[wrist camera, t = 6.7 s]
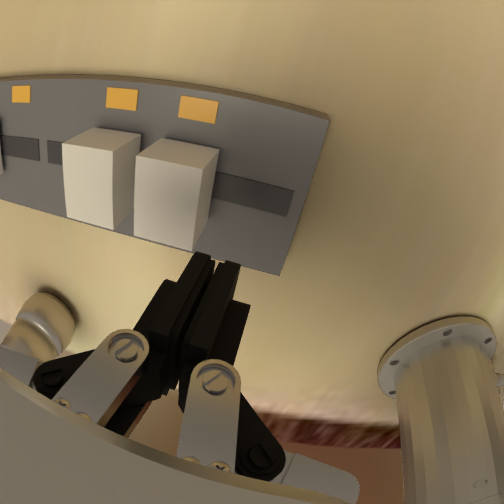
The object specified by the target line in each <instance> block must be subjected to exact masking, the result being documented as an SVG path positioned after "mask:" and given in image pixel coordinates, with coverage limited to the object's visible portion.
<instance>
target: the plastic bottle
mask: <svg viewBox="0 0 504 504" xmlns="http://www.w3.org/2000/svg"><path fill="white" fill-rule="evenodd" d="M74 331H75V323H74V318H73V316H72V314H71V312H70V311H69V309H68V308H67V307H66V306H65V305H64V304H63V303H62V302H61V301H60V300H59V299H58V298H56V297H55V296H53V295H51V294H49V293H37V294H34V295H33V296H32V297H30V298H29V299H28V300H27V301H26V302H25V303H24V305H23V306H22V308H21V310H20V311H19V313H18V315H17V317H16V321H15V322H14V324H13V325H12V327H11V328H10V330H9V332H8V333H7V335H6V337H5V338H4V340H3V342H2V343H1V345H0V346H1V347H4V348H7V349H10V350H13V351H16V352H19V353H22V354H25V355H28V356H32V357H35V358H38V359H39V360H40V362H47V361H49V360H54V359H55V358H56V357H57V356H59V355H60V354H61V353H62V352H63V351H64V350H65V348H66V347H67V346H68V345H69V344H70V342H71V339H72V337H73V334H74Z"/></svg>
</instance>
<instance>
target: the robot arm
mask: <svg viewBox="0 0 504 504" xmlns="http://www.w3.org/2000/svg"><path fill="white" fill-rule="evenodd" d="M214 267H215V261H214V260H211V255H208V254H205V253H202V252H198V251H196V252H195V253H194V255H193V256H192V258H191V260H190V261H189V263H188V264H187V266H186V268H185V269H184V271H183V273H182V274H181V276H180V278H179V279H178V281H177V282H174V281H171V280H168V279H166V280H164V281H163V283H162V284H161V286H160V287H159V289H158V290H157V292H156V294H155V295H154V297H153V298H152V300H151V301H150V303H149V305H148V306H147V308H146V309H145V311H144V313H143V314H142V316H141V317H140V319H139V321H138V322H137V324H136V326H135V327H134V329H133V330H130V329H121V330H117V331H114V332H112V333H111V334H109V335H108V336H107V337H106V338H105V339H104V340H103V341H102V343H101V344H100V345H99V346H98V347H97V348H96V349H94V350H90V351H86V352H82V353H78V354H74V355H70V356H66V357H62V358H58V359H54V360H49V361H47V362H40V360H39V359H38V358H35V357H32V356H28V355H25V354H22V353H19V352H16V351H13V350H10V349H7V348H4V347H1V346H0V504H356V501H357V498H358V495H359V488H360V487H359V483H358V480H357V479H356V478H355V477H354V475H352V474H350V473H348V472H346V471H343V470H340V469H337V468H334V467H332V466H329V465H326V464H323V463H321V462H318V461H315V460H313V459H310V458H308V457H305V456H303V455H300V454H298V453H295V454H292V453H289V452H287V451H284V450H283V448H282V447H281V445H280V444H279V443H278V441H277V440H276V439H275V437H274V436H273V435H272V434H271V432H270V431H269V430H268V428H267V427H266V426H265V424H264V423H263V422H262V420H261V419H260V418H259V416H258V415H257V414H256V412H255V411H254V410H253V408H252V407H251V406H250V404H249V403H248V401H247V400H246V399H245V397H244V396H243V395H242V393H241V392H240V391H241V378H240V375H239V373H238V371H237V370H236V369H235V368H234V367H233V365H234V361H235V358H236V355H237V351H238V348H239V344H240V341H241V337H242V334H243V331H244V327H245V324H246V320H247V317H248V313H249V310H250V306H251V305H248V304H245V303H242V302H238V301H235V300H233V296H234V292H235V287H236V283H237V279H238V275H239V271H240V267H241V264H239V263H235V262H232V261H229V260H226V261H225V263H221V262H219V264H218V266H217V268H216V270H215V272H214ZM213 272H214V274H213ZM496 344H497V343H496V337H495V335H494V332H493V330H492V328H491V327H490V326H489V324H488V323H487V322H485V321H483V320H481V319H479V318H475V317H464V316H460V317H452V318H446V319H443V320H439V321H435V322H433V323H430V324H428V325H425V326H423V327H421V328H419V329H417V330H415V331H413V332H411V333H410V334H408V335H407V336H405V337H404V338H402V339H401V340H399V341H398V342H397V343H396V344H395V345H394V346H392V347H391V348H390V349H389V351H388V352H387V353H386V354H385V355H384V357H383V358H382V360H381V362H380V364H379V367H378V370H377V371H378V383H379V387H380V388H381V390H382V392H384V393H385V394H386V395H387V396H389V397H392V398H394V399H396V400H397V408H398V417H399V426H400V437H401V449H402V463H403V481H404V482H403V483H404V504H504V411H503V407H502V404H501V400H500V397H499V393H500V390H499V387H498V386H503V385H504V374H501V373H495V371H494V368H493V365H492V362H491V360H492V358H493V356H494V353H495V350H496ZM178 381H179V400H178V401H179V402H178V405H179V407H180V408H181V410H182V412H183V414H184V416H183V422H182V427H181V433H180V438H179V444H178V450H177V456H176V457H175V456H172V455H169V454H167V453H164V452H161V451H158V450H156V449H153V448H150V447H148V446H145V445H143V444H140V443H138V442H135V441H133V440H130V439H128V438H129V436H130V434H131V433H132V432H133V430H134V429H135V427H136V426H137V424H138V423H139V422H140V420H141V419H142V417H143V415H144V414H145V413H146V411H147V410H148V408H149V406H150V405H151V402H152V401H153V400H156V399H159V398H161V395H162V394H163V395H167V393H168V391H169V389H173V390H175V388H176V386H177V384H178Z"/></svg>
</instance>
